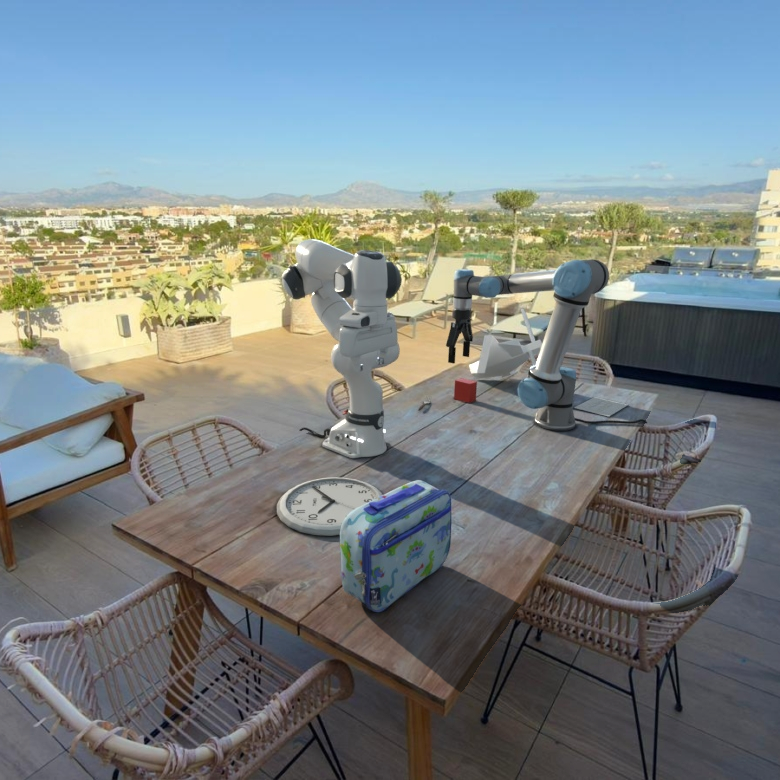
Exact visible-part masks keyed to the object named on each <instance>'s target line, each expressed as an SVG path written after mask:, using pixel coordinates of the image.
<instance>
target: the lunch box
mask: <svg viewBox="0 0 780 780" xmlns="http://www.w3.org/2000/svg"><path fill="white" fill-rule="evenodd" d="M383 494H384V495H382V496H380V497H378V498H376V499H374V500H372V501H370V502H368V503H366V504H364V505H362V506H360V507H358V508H356V509H354V510H353V511H351V512H350V513H349V514H348V515H347V516H346V518H345V519H344V521H343V523H342V526H341V530H340V535H339V551H340V574H341V576H340V577H341V585H342V588H343V589H342V590H343V591H344V593H346V594H348V595H350V596H352V597H353V598H355V599H357V600H358V601H359V602H361V603H362V604H364V605H365V606H366V608H367V609H369V610H370V611H371V612H374V613H381V612H384V611H385V610H386V609H387V608H389V607H390V606H391V605H392V604H393V603H395V602H396V601H397V600H399V599H400V598H401V597H402V596H404V595H405V594H407V593H408V592H410V591H411V590H412V589H413V588H415V587H416V586H417V585H418V584H419V583H420V582H421V581H423V580H425V579H426V578H427V577H429V576H430V575H432V574H434V573H435V572H436V571H438V570H439V569H440V568H441V567H442V566H443V565H444V563H445V562H446V560H447V558H448V556H449V553H450V550H451V549H450V548H451V545H452V543H451V542H452V497H451V494H450V492H449V491H448V490H446V489H438V488H437V487H435V486H434V485H431V484H429V483H427V482H426V481H424V480H421V479H416V480H413V481H410V482H408V483H405V484H403V485H401V486H399V487H397V488H394V489H393V490H390V491H388V492H387V493H383Z"/></svg>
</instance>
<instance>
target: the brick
mask: <svg viewBox="0 0 780 780" xmlns="http://www.w3.org/2000/svg"><path fill="white" fill-rule="evenodd" d="M477 387H478V381H476V380H472V379H467V378H464V377H460V378H457V379H455V380H454V389H453V390H454V391H453V399H454V400H456V401H460V402H464V403H467V404H471V403H473V402H475V401H476V400H477V391H478V390H477V389H478V388H477Z"/></svg>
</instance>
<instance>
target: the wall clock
mask: <svg viewBox="0 0 780 780" xmlns="http://www.w3.org/2000/svg"><path fill="white" fill-rule="evenodd" d="M384 494H385V493H383V492H382V491H381V490H380V489H379V488H377V487H376V486H374V485H372V484H371V483H369V482H365V481H362V480H359V479H355V478H349V477H338V476H337V477H335V476H333V477H332V476H331V477H322V478H317V479H312V480H307V481H305V482H302V483H299V484H297V485H295V486H293V487H292V488H290V489H288V490H287V491H286V492H285V493H284V494H283V495H281V496H280V498H279V499H278V502H277V503H276V515H277V517H278V518H279V520H280V521H281V522H282V523H283V524H285V525H286V526H287V527H288V528H290V529H293V530H295V531H297V532H299V533H303V534H308V535H312V536H327V537H328V536H329V537H331V536H332V537H333V536H340V530H341V526H342V523H343V521H344V519H345V518H346V516H347V515H348V514H349V513H350V512H351V511H353V510H354V509H356V508H358V507H360V506H362V505H364V504H366V503H368V502H370V501H372V500H374V499H376V498H378V497H380V496H382V495H384Z"/></svg>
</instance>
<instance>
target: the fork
mask: <svg viewBox="0 0 780 780" xmlns="http://www.w3.org/2000/svg"><path fill="white" fill-rule="evenodd" d="M431 401H432V396H425V399H424V402H423V404H422V405H420V407H419V409H418V411H420V410H422V409H423V408H425V406H426V404H427V405H428V404H430V403H431Z"/></svg>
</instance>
